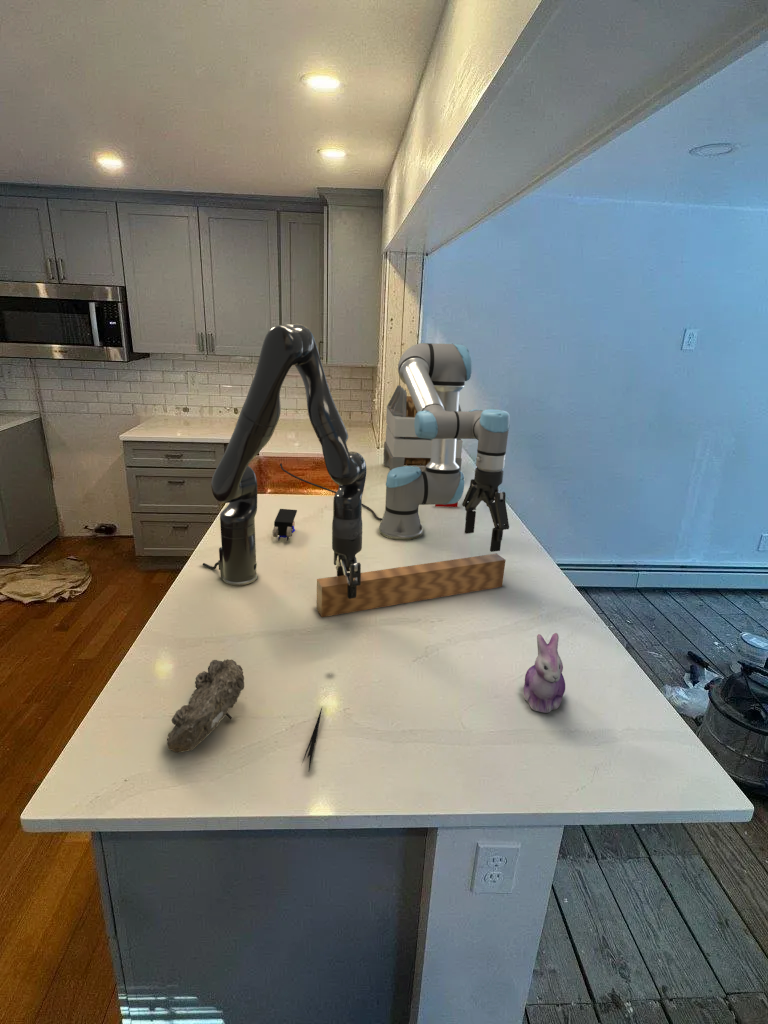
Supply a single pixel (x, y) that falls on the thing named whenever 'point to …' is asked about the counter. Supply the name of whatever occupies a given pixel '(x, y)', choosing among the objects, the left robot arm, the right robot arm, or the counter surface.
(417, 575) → the beam
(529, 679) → the figurine
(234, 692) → the fossil
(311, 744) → the feather
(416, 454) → the grey and brown box
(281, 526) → the figurine character
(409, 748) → the counter surface
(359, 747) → the counter surface
